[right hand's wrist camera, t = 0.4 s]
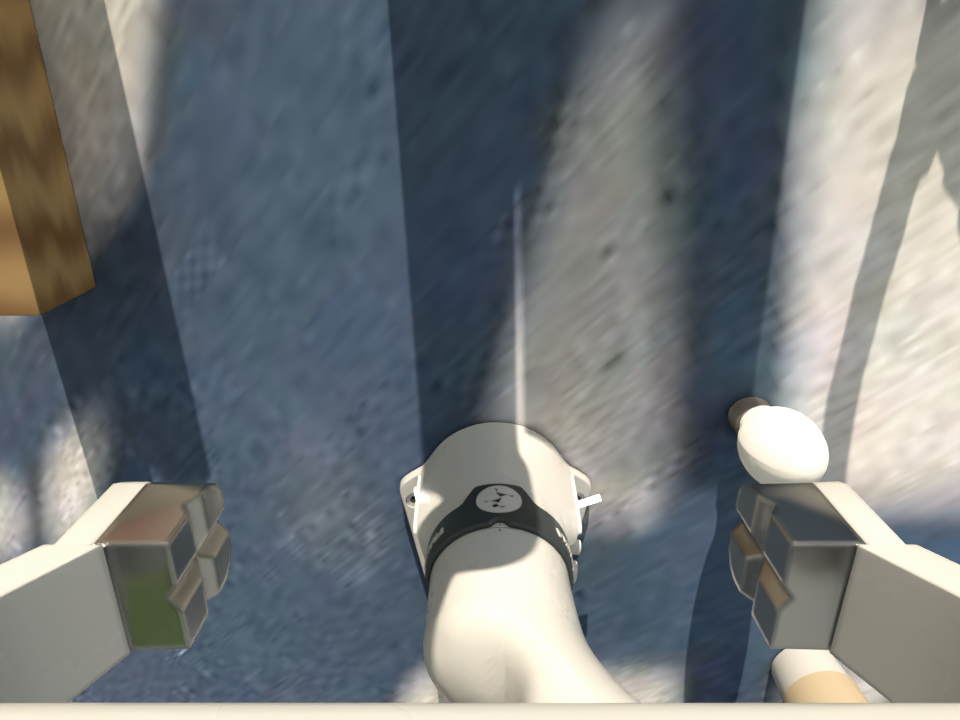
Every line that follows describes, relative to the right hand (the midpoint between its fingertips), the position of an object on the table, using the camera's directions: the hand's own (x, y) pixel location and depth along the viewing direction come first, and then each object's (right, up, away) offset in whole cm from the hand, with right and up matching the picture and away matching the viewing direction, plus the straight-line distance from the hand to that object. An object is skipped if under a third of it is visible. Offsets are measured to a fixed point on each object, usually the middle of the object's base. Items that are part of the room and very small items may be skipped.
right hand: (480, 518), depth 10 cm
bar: (-36, +20, +42) cm, 59 cm away
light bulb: (+26, -2, +51) cm, 57 cm away
